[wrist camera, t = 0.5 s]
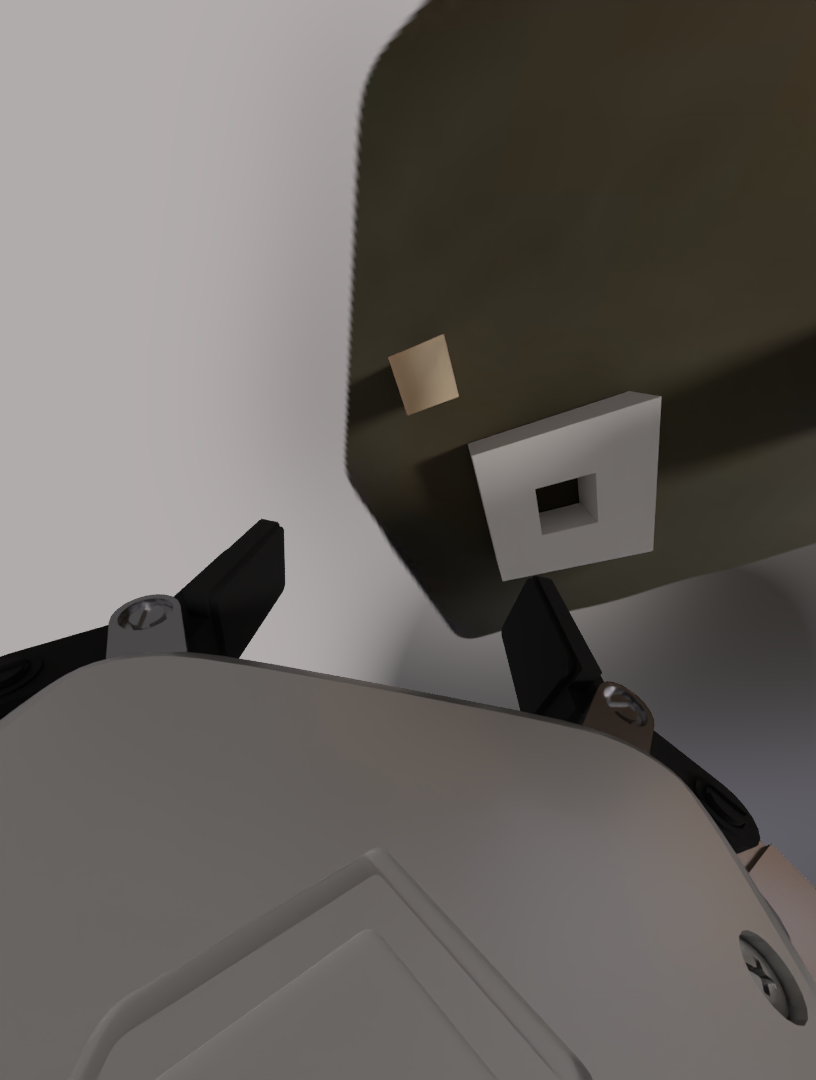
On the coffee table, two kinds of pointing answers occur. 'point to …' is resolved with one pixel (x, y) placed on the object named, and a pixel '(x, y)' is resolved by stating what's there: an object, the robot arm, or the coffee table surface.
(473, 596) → the coffee table surface
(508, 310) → the coffee table surface
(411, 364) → the maple peg
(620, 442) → the socket block
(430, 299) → the coffee table surface
